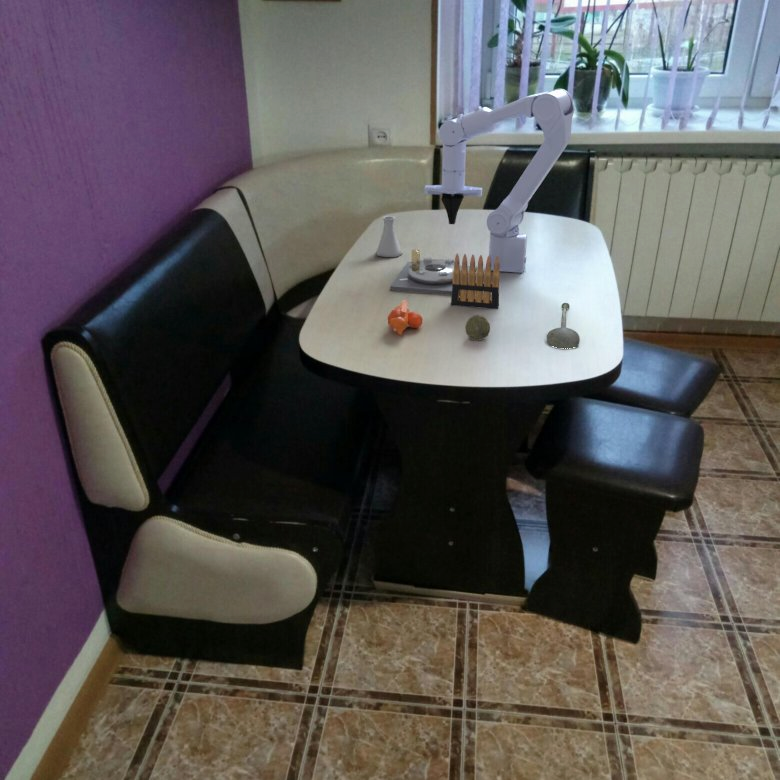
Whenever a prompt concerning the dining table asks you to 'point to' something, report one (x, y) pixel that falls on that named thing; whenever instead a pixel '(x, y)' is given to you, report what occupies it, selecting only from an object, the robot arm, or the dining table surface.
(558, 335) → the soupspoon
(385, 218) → the flask
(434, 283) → the crank wheel with handle
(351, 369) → the dining table surface
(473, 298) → the ammunition clip
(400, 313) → the orange toy bird
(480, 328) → the lime
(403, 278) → the cap plate
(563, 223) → the dining table surface
